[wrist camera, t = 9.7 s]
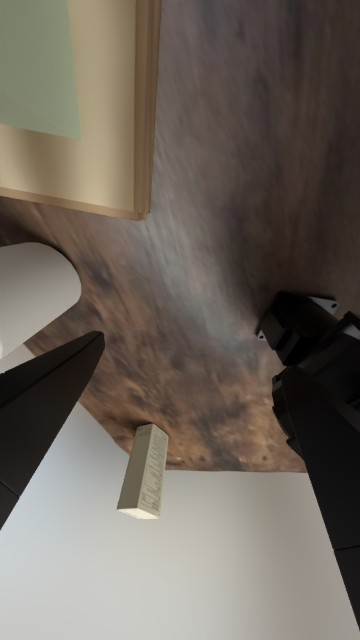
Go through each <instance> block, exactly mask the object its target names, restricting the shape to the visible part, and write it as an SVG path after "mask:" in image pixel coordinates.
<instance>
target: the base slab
mask: <svg viewBox="0 0 360 640" xmlns="http://www.w3.org/2000/svg"><path fill="white" fill-rule="evenodd" d="M67 7H68V16H69V26H70V35H71V45H72V54H73V63H74V73H75V82H76V91H77V101H78V110H79V120H80V129H81V138H82V140H79V139H74V138H69V137H64V136H59V135H54V134H48V133H43V132H38V131H33V130H28V129H22V128H17V127H12V126H7V125H4V124H2V123H0V196H5V197H11V198H16V199H21V200H27V201H32V202H38V203H43V204H48V205H54V206H59V207H64V208H70V209H75V210H81V211H86V212H91V213H97V214H102V215H107V216H113V217H118V218H124V219H129V220H134V221H141V220H146V219H147V213H150V204H151V185H152V167H153V148H154V129H155V111H156V92H157V73H158V54H159V36H160V17H161V0H67Z"/></svg>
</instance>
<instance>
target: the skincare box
mask: <svg viewBox="0 0 360 640" xmlns="http://www.w3.org/2000/svg"><path fill="white" fill-rule="evenodd" d="M167 445H168V435H167V434H165V433H164V432H163V431H162V430H161V429H160V428H159V427H157V426H156V425H155V424H153V423H152V424H148V425H144V426H140V427H137V431H136V435H135V439H134V443H133V447H132V451H131V454H130V458H129V462H128V466H127V470H126V474H125V478H124V482H123V486H122V490H121V494H120V499H119V502H118V506H117V510H118V511H121V512H123V513H126V514H128V515H131V516H134V517H136V518H138V519H153V518H158V519H159V518H160V508H161V499H162V490H163V480H164V472H165V463H166V454H167Z"/></svg>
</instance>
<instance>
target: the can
mask: <svg viewBox="0 0 360 640" xmlns="http://www.w3.org/2000/svg"><path fill="white" fill-rule="evenodd" d="M80 295H81V283H80V280H79V276H78V274H77V272H76V271H75V269H74V267H73V266H72V264H71V263H70V262H69V261H68V260H67V259H66V258H65V257H64V256H63V255H62V254H61V253H59V252H58V251H56V250H55V249H53V248H52V247H50V246H47V245H44V244H41V243H35V242H26V243H21V244H15V245H10V246H4V247H0V360H1V359H2V358H3V357H5V356H6V355H7V354H9V353H10V352H11V351H13V350H14V349H15V348H17V347H18V346H19V345H21V344H22V343H23V342H25V341H26V340H27V339H29V338H30V337H31V336H33V335H34V334H36V333H37V332H38V331H40V330H41V329H42V328H44V327H45V326H46V325H48V324H49V323H50V322H52V321H53V320H54V319H56V318H57V317H58V316H60V315H61V314H62V313H64V312H65V311H66V310H68V309H69V308H70V307H72V306H73V305H74V304H75V303H76V302H78V300H79V298H80Z"/></svg>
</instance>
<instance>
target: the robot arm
mask: <svg viewBox="0 0 360 640" xmlns="http://www.w3.org/2000/svg"><path fill="white" fill-rule="evenodd" d="M282 294H284V296H283V297H280V296H281V295H282ZM333 304H334V305H333ZM332 305H333V306H332ZM338 307H339V302H337V301H336V300H332V299H326V298H321V297H316V296H310V295H305V294H299V293H294V292H288V291H279V292H278V293H277V295H276V297H275V299H274V301H273V303H272V305H271V307H270V308H269V309H268V310H267V312H266V314H265V316H264V318H263V320H262V322H261V324H260V329H259V331H258V333H257V335H256V336H257V339H258V340H261V341H267V342H268V343H269V345H270V347H271V349H272V350H275V351H276V353H277V355H278V357H279V359H280V360H281V362H282V364H283V365H284V366H287V367H286V368H285V369H284V370H283V371H282V372H281V373H279V374H278V375H275V376H274V377H273V378H272V384H273V389H272V397H273V402H274V406H272V409H273V413H274V415H275V417H276V419H277V421H278V423H279V425H280V427H281V428H282V430H283V431H284V432H285V434H286V435H287V436H288V437H289V438H288V439H287V440H286V442H287V444H288V445H289V446H290V447H291V448H292V449H293V450H294V451H295V452H296V453H297V454H298V455H299V456H300V457H301V458H302V459H303V460H304V463H305V466H306V469H307V472H308V475H309V478H310V481H311V484H312V487H313V490H314V493H315V496H316V499H317V502H318V505H319V508H320V511H321V514H322V517H323V520H324V523H325V526H326V529H327V532H328V535H329V538H330V541H331V544H332V548H333V549H334V554H335V557H336V560H337V563H338V566H339V569H340V572H341V575H342V578H343V581H344V585H345V588H346V591H347V593H348V597H349V600H350V603H351V606H352V609H353V612H354V615H355V618H356V621H357V624H358V627H359V630H360V316H359V315H357V314H355V313H353V312H351V311H348V312H347V313H346V314H345V315H344V316H343V317H344V318H342V319H341V320H340V321H339V320H338V319H337V318H335V317H334V316H333V314H334V312H335V311H336V310H337V308H338ZM261 335H263V336H261ZM260 336H261V337H260ZM104 348H105V341H104V333H103V332H101V331H92V332H89V333H87V334H85V335H83V336H81V337H79V338H76V339H74V340H72V341H70V342H68V343H66V344H64V345H61V346H59V347H57V348H55V349H53V350H51V351H48V352H46V353H44V354H42V355H40V356H38V357H36V358H34V359H31V360H29V361H27V362H25V363H23V364H20V365H19V366H16V367H14V368H12V369H10V370H8V371H5V373H1V374H0V530H1V528H2V527H3V525H4V523H5V522H6V520H7V518H8V517H9V515H10V513H11V511H12V510H13V508H14V506H15V505H16V503H17V502H18V500H19V497H20V496H21V495H22V493H23V491H24V489H25V488H26V486H27V484H28V483H29V481H30V479H31V478H32V476H33V474H34V473H35V471H36V469H37V468H38V466H39V464H40V463H41V461H42V459H43V458H44V456H45V454H46V453H47V451H48V449H49V448H50V446H51V444H52V443H53V441H54V439H55V438H56V436H57V434H58V433H59V431H60V429H61V428H62V426H63V424H64V423H65V421H66V419H67V418H68V416H69V414H70V413H71V411H72V409H73V407H74V406H75V404H76V402H77V401H78V399H79V397H80V396H81V394H82V392H83V391H84V389H85V387H86V386H87V384H88V382H89V381H90V379H91V377H92V375H93V373H94V371H95V368H96V366H97V364H98V362H99V360H100V357H101V355H102V353H103V351H104Z"/></svg>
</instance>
